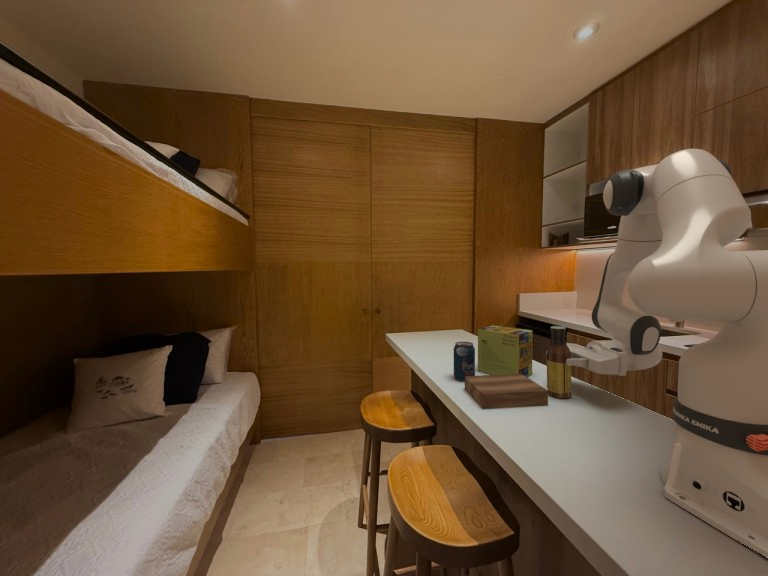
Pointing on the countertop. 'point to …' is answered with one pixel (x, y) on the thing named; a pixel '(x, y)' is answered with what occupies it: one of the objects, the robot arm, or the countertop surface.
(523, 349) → the protein box
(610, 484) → the countertop surface
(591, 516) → the countertop surface
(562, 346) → the sauce bottle
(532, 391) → the walnut stand
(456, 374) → the soda can
